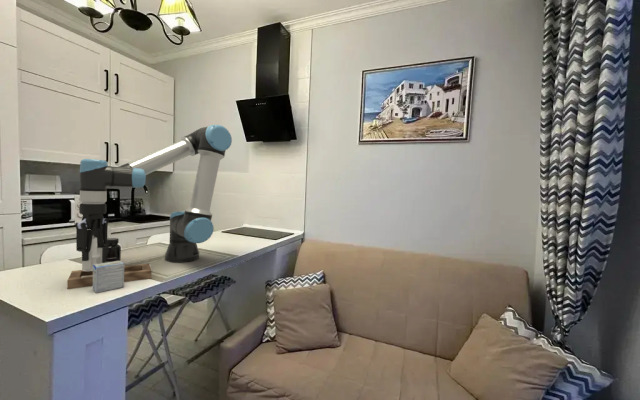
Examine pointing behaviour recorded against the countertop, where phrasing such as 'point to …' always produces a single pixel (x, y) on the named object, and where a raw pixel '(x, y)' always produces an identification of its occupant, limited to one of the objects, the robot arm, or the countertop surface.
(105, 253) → the supplement bottle
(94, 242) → the candle
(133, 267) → the rack block
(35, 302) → the countertop surface
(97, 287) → the medicine box
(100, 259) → the robot arm
